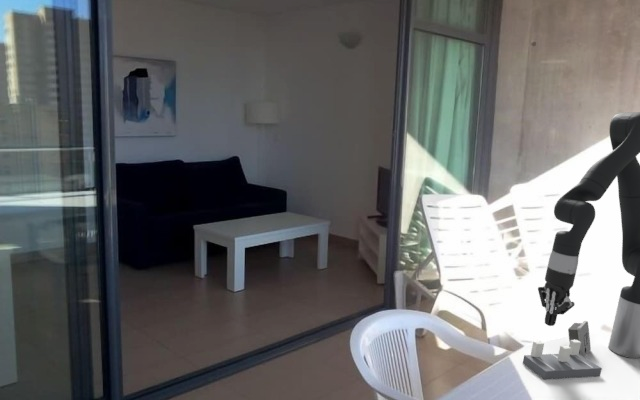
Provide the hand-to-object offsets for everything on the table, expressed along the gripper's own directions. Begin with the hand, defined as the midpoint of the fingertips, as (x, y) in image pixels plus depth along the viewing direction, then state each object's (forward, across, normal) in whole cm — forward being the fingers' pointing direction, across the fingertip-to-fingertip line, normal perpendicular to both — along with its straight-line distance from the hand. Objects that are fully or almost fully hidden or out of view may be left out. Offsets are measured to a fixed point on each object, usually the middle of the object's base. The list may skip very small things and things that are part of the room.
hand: (549, 324), depth 158 cm
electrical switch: (+10, -2, +15) cm, 18 cm away
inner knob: (+8, +4, +7) cm, 11 cm away
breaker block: (+10, +7, 0) cm, 13 cm away
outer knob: (+8, +4, -6) cm, 11 cm away
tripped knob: (+8, +7, 0) cm, 11 cm away
